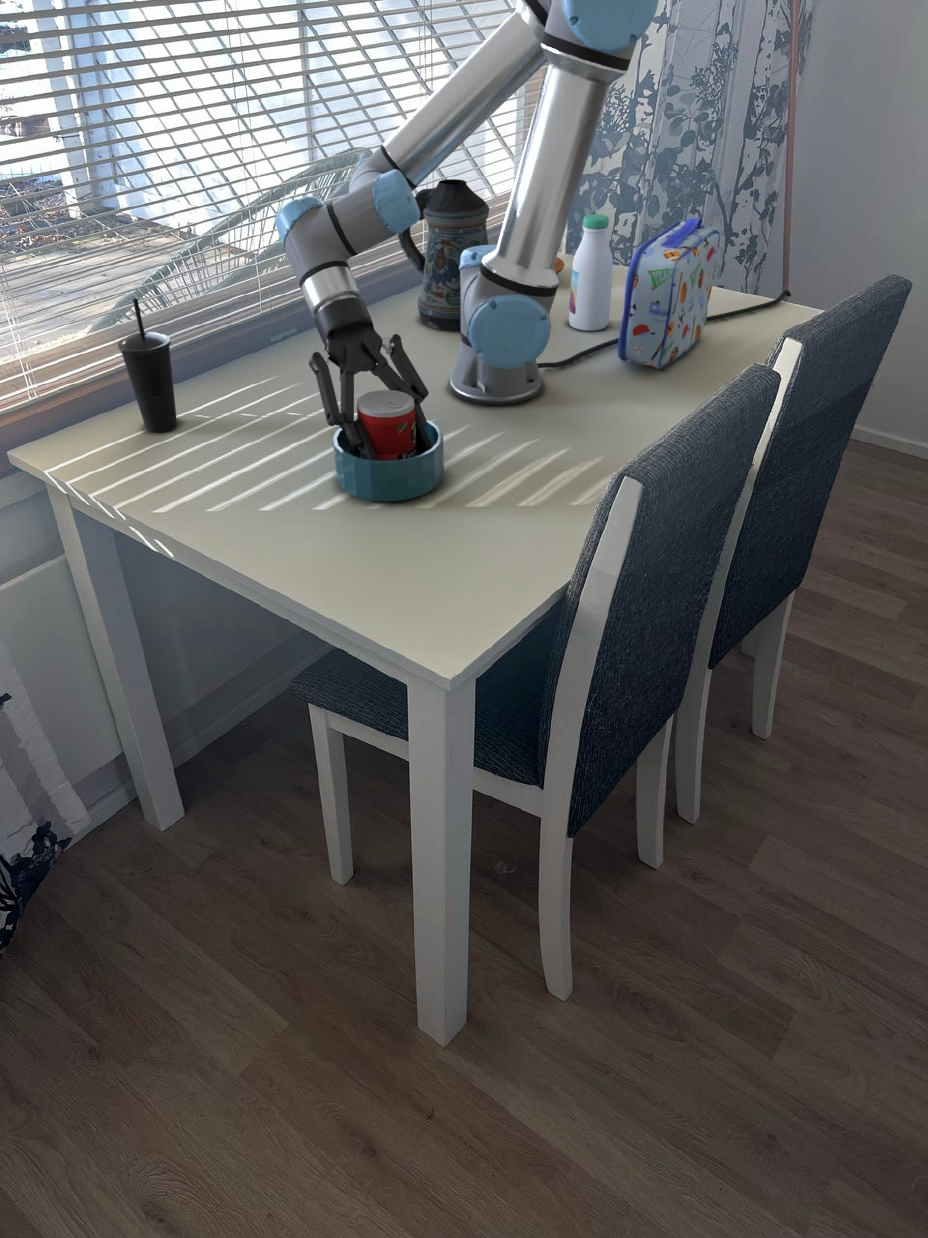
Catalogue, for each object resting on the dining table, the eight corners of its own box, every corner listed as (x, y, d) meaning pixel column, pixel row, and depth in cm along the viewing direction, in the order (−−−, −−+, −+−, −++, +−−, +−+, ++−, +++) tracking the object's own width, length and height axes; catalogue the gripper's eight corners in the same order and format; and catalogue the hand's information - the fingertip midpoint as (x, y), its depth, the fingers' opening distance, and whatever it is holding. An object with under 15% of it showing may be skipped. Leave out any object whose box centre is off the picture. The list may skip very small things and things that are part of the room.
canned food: (410, 488, 134) (407, 415, 127) (354, 482, 135) (349, 410, 128) (422, 463, 140) (420, 391, 133) (369, 458, 141) (365, 387, 134)
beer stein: (508, 329, 185) (511, 190, 170) (408, 335, 183) (402, 195, 168) (492, 300, 198) (493, 170, 183) (398, 306, 196) (392, 174, 181)
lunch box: (660, 322, 188) (674, 202, 175) (712, 331, 184) (730, 209, 171) (608, 371, 169) (620, 241, 155) (665, 382, 165) (682, 249, 151)
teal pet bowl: (432, 449, 145) (430, 409, 141) (453, 497, 133) (452, 455, 129) (331, 459, 143) (327, 419, 139) (344, 510, 131) (340, 467, 127)
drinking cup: (195, 419, 154) (172, 293, 142) (168, 439, 148) (142, 310, 136) (154, 412, 156) (128, 288, 144) (126, 432, 150) (96, 304, 138)
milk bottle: (614, 322, 188) (624, 214, 176) (597, 334, 183) (606, 224, 171) (579, 315, 191) (586, 208, 179) (561, 326, 186) (567, 218, 174)
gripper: (393, 308, 142) (453, 450, 141) (264, 336, 133) (325, 487, 132) (410, 282, 135) (473, 430, 134) (275, 309, 126) (340, 468, 125)
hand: (400, 458), depth 133 cm, fingers closed on canned food, 8 cm apart
